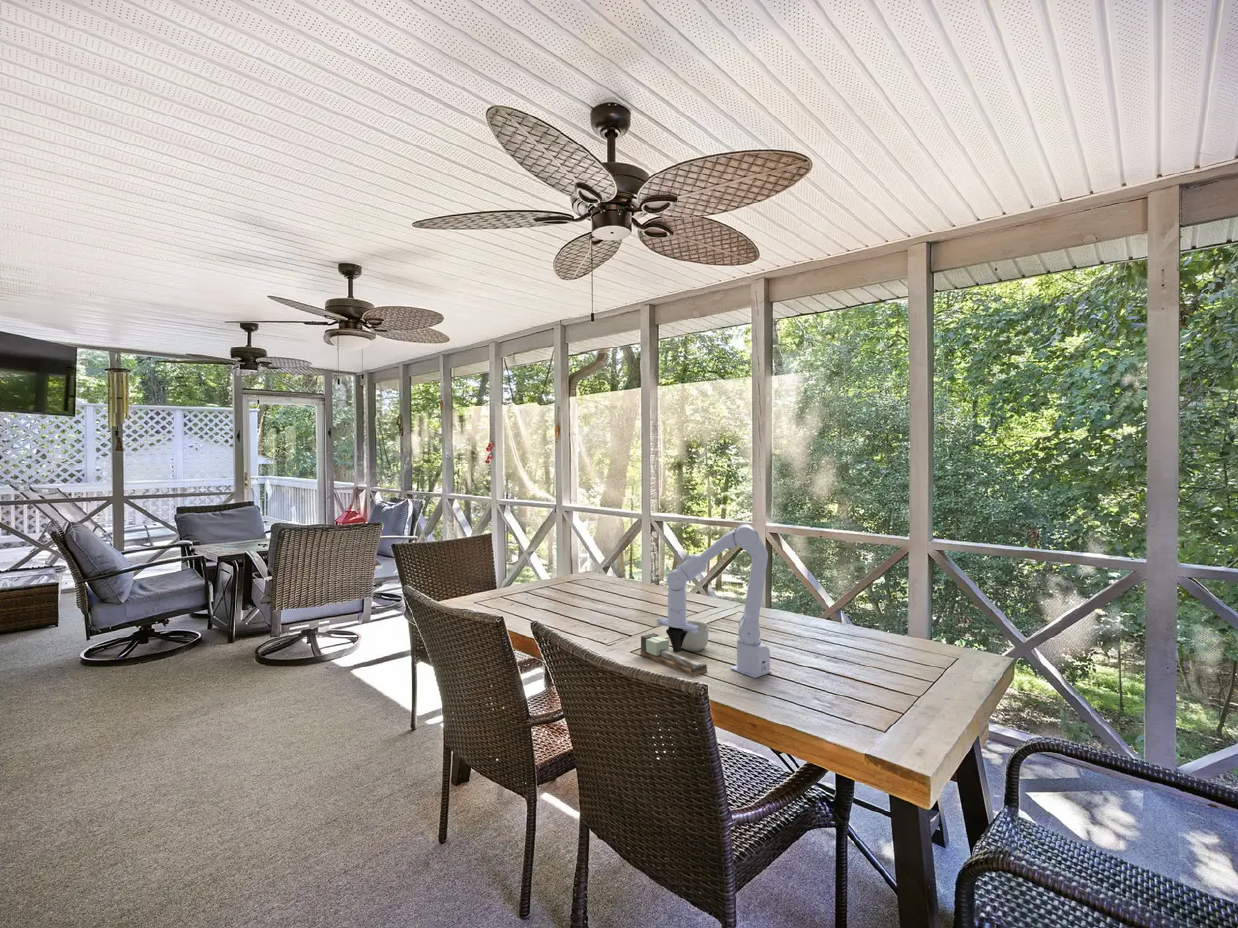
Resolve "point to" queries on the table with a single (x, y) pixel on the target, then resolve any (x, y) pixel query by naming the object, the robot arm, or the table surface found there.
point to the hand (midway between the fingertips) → (677, 651)
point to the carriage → (656, 645)
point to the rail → (672, 664)
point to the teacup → (696, 637)
